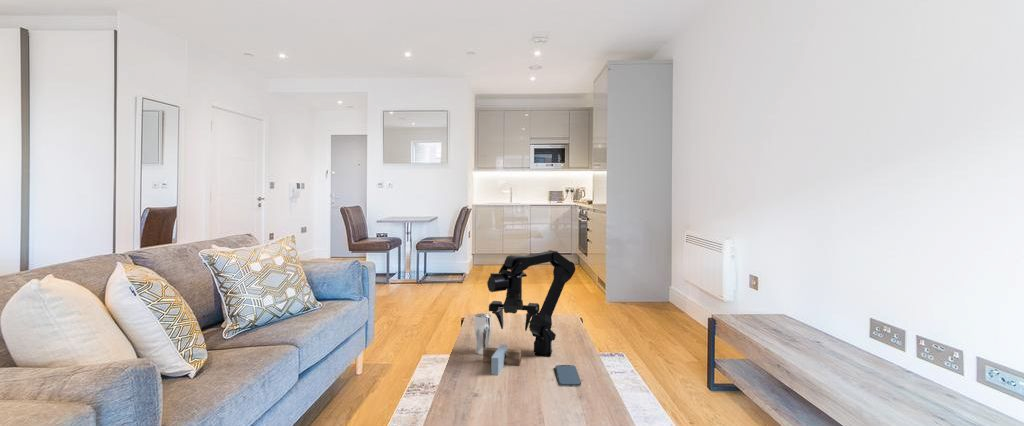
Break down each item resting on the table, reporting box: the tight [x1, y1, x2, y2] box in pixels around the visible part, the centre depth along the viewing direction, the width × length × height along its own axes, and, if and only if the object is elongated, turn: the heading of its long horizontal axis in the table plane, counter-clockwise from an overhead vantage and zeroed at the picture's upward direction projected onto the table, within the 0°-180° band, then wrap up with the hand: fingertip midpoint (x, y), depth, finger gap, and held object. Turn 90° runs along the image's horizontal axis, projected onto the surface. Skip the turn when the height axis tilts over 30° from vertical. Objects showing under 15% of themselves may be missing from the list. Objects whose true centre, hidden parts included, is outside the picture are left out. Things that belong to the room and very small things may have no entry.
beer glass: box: [473, 312, 493, 356], centre depth 171 cm, size 7×7×15 cm
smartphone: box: [554, 364, 582, 387], centre depth 148 cm, size 8×2×15 cm
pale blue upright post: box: [490, 343, 508, 376], centre depth 156 cm, size 2×14×6 cm, turn 168°
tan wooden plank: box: [482, 347, 522, 367], centre depth 160 cm, size 14×2×5 cm, turn 78°
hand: (514, 329), depth 162 cm, fingers open, 9 cm apart
